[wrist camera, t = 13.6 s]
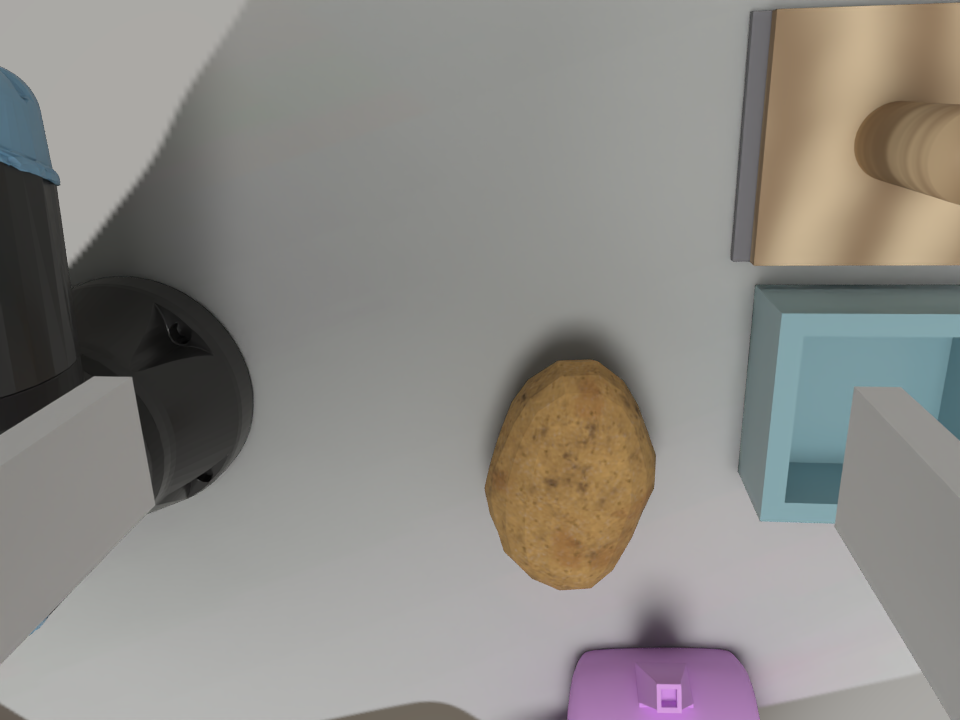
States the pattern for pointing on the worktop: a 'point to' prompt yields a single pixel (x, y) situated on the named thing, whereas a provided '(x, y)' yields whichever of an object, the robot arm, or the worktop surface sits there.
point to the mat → (751, 133)
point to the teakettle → (661, 685)
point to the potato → (570, 474)
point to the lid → (860, 138)
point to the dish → (836, 381)
